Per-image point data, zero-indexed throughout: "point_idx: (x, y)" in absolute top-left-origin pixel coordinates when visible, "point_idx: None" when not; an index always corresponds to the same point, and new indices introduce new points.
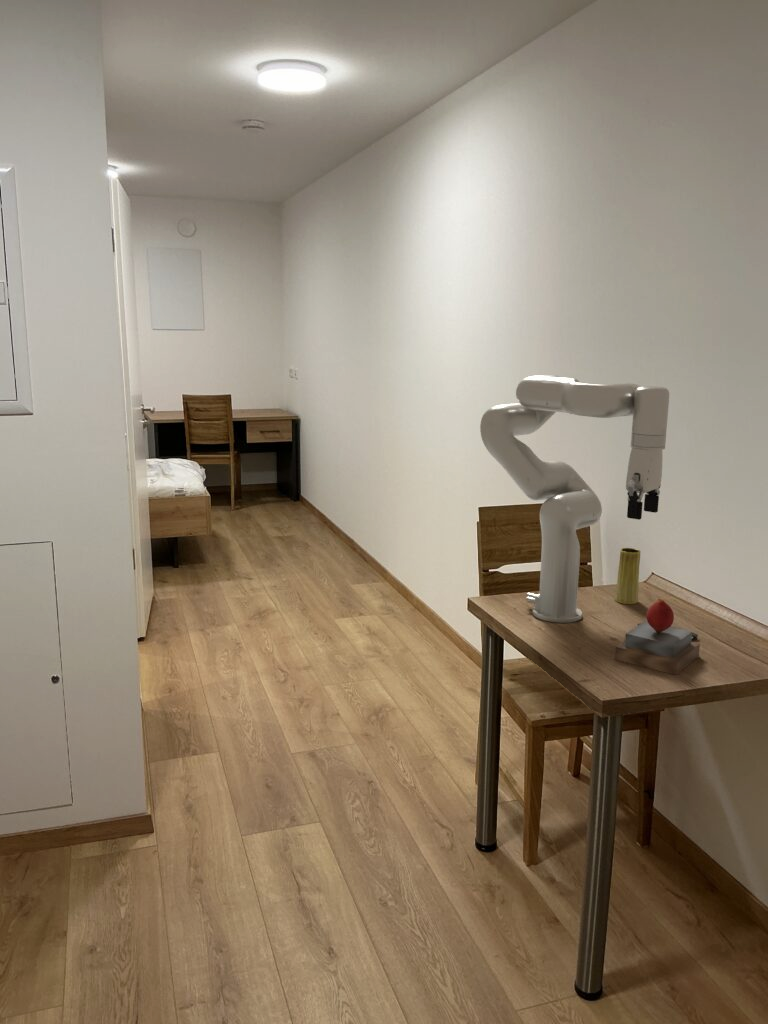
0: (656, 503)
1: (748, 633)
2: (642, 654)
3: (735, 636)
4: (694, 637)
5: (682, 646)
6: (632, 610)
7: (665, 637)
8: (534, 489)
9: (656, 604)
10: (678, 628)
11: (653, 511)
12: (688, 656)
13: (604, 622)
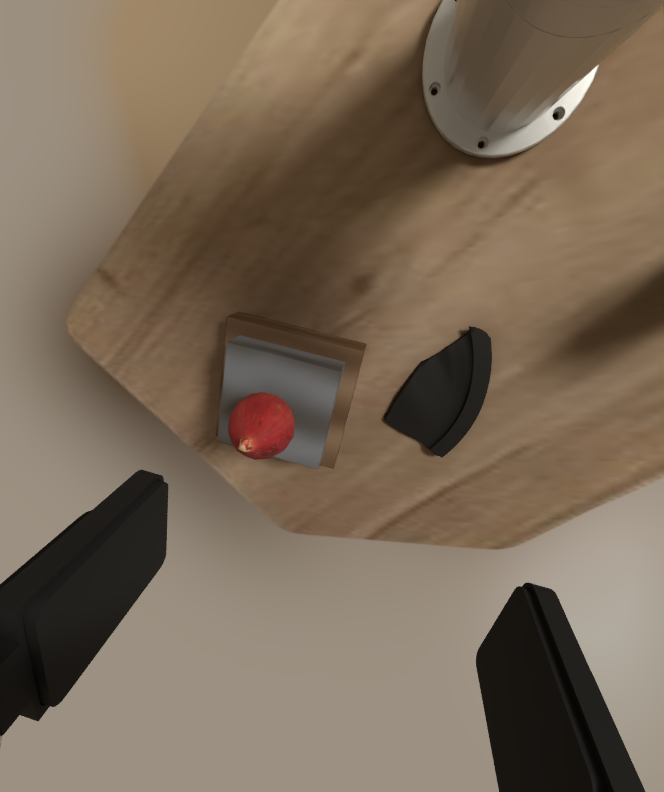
0: (495, 755)
1: (516, 535)
2: (222, 373)
3: (487, 514)
4: (429, 449)
5: None
6: (631, 290)
7: None
8: None
9: (239, 431)
10: (473, 418)
11: (483, 646)
12: None
13: (485, 234)
